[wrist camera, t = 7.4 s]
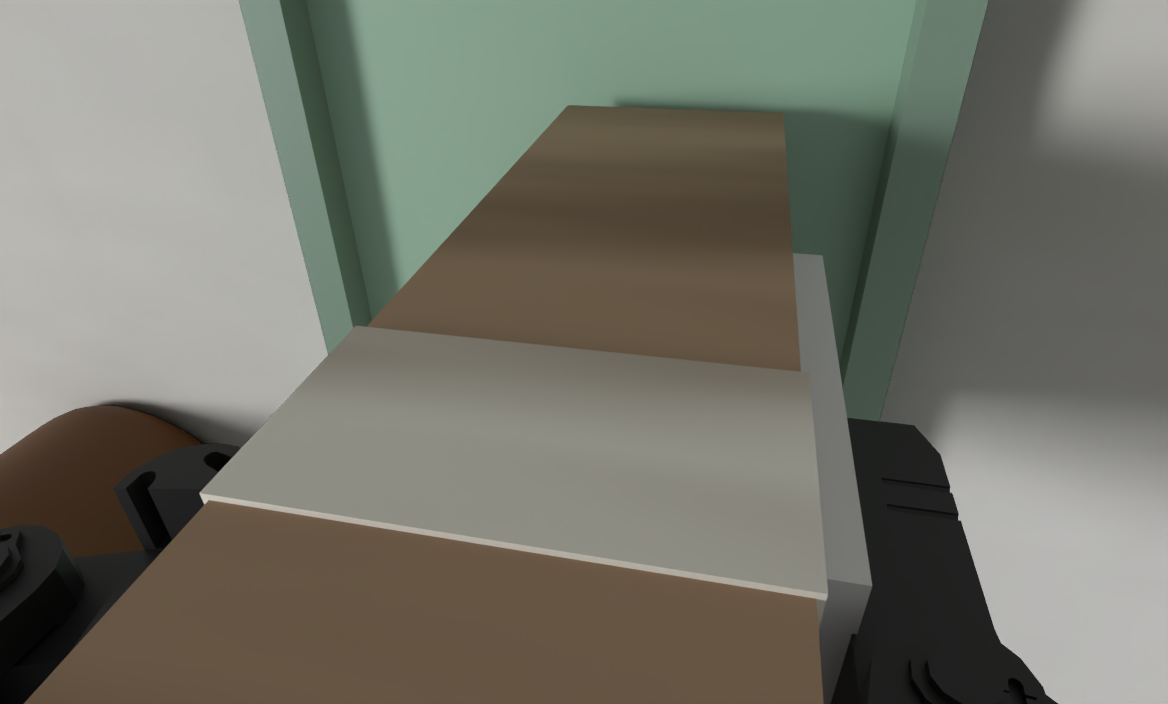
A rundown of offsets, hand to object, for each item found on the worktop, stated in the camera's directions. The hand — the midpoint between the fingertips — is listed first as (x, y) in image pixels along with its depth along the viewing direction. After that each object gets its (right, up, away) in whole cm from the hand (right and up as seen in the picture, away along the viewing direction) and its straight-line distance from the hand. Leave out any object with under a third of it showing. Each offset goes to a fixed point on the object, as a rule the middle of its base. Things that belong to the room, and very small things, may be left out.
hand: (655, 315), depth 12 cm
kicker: (0, +1, +1) cm, 2 cm away
